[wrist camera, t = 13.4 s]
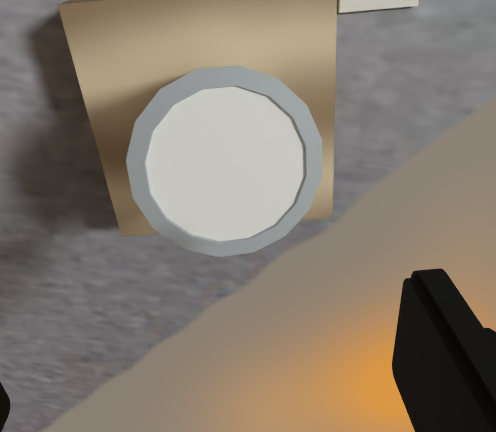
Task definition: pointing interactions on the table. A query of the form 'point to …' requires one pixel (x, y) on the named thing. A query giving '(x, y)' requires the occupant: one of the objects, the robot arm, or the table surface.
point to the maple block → (189, 59)
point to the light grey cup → (224, 160)
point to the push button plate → (373, 4)
